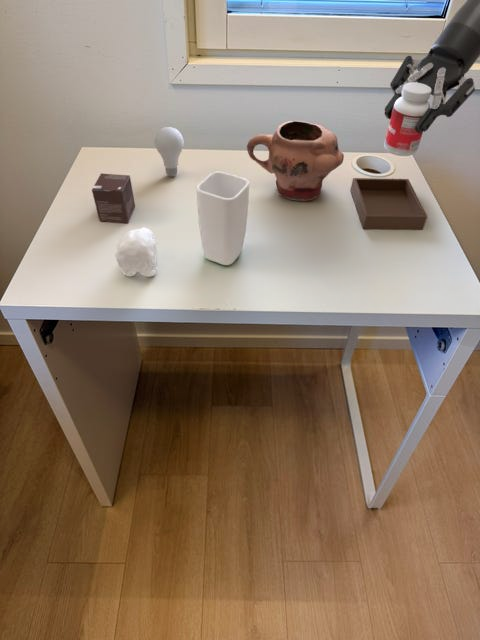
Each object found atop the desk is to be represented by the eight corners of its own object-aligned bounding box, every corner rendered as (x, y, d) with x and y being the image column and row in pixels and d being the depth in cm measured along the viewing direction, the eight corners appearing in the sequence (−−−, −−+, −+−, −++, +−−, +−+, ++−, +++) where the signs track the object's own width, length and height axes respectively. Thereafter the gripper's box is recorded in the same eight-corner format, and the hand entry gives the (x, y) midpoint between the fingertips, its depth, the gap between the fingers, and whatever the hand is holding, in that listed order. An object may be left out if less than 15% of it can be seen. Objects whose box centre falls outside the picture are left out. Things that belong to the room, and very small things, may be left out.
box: (136, 207, 97) (131, 174, 91) (128, 224, 93) (122, 191, 87) (107, 204, 97) (100, 172, 92) (98, 221, 93) (90, 189, 88)
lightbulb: (180, 185, 103) (177, 136, 95) (154, 180, 104) (148, 132, 96) (189, 171, 107) (186, 124, 99) (163, 167, 108) (159, 120, 100)
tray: (422, 229, 94) (427, 217, 92) (362, 229, 94) (366, 216, 92) (404, 191, 104) (408, 178, 102) (350, 190, 103) (353, 177, 101)
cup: (215, 239, 90) (214, 168, 79) (249, 251, 88) (253, 180, 77) (196, 260, 86) (192, 188, 75) (230, 273, 84) (232, 201, 73)
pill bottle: (383, 139, 90) (399, 78, 82) (416, 143, 89) (435, 82, 81) (382, 154, 86) (399, 92, 77) (416, 159, 85) (437, 96, 77)
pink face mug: (243, 203, 99) (246, 140, 89) (246, 173, 107) (249, 112, 97) (338, 209, 98) (351, 146, 88) (333, 178, 107) (345, 118, 96)
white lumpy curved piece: (110, 243, 74) (124, 206, 83) (118, 285, 80) (130, 247, 89) (150, 244, 75) (159, 207, 83) (155, 286, 80) (163, 248, 89)
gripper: (426, 10, 80) (364, 98, 83) (503, 33, 72) (431, 128, 76) (435, 39, 86) (377, 120, 89) (506, 63, 78) (440, 149, 82)
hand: (402, 123), depth 83 cm, fingers closed on pill bottle, 6 cm apart
